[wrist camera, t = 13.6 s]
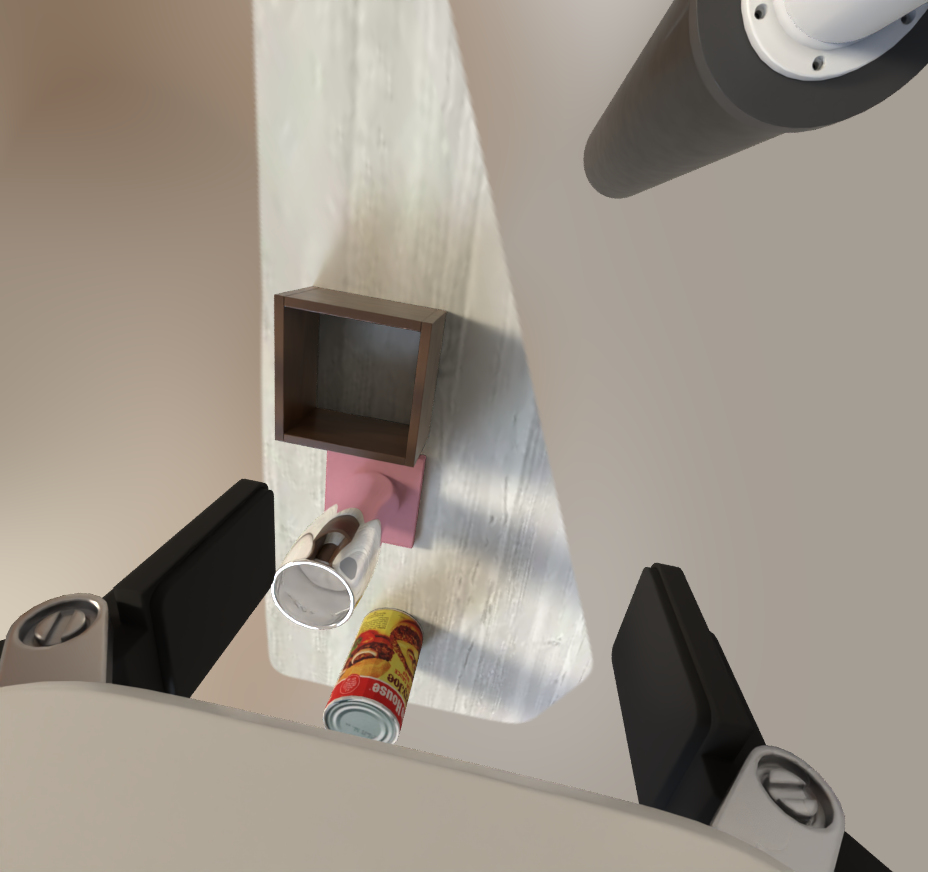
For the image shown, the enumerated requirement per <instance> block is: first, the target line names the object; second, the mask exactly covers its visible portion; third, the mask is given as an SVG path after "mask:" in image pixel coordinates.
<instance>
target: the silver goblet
mask: <svg viewBox="0 0 928 872" xmlns="http://www.w3.org/2000/svg"><path fill="white" fill-rule="evenodd" d="M399 505H400V495H399V492H398V489H397V487H396V486H395V484H394V483H393V482H392V481H391V480H390V479H389V478H388V477H386V476H384V475H383V474H380V473H378V472H373V471H362V472H358V473H356V474H354V475H353V476H351V477H350V478H349V479H348V480H347V481H346V483H345V485H344V487H343V490H342V493H341V496H340V498H339V499H338V501H337V502H336V503H335V504H333V505H332V506H331V507H330V508H329V509H327V510H326V511H325V512H324V513H322V514H321V515H320V516H319V517H317V518H316V519H315V520H314V521H313V522H312V523H311V524H310V525H309V526H308V527H307V528H306V529H305V530H304V531H303V533H302V534H301V535H300V536H299V538H298V539H297V540H296V542H295V543H294V545H293V546H292V547H291V549H290V550H289V552H288V554H287V555H286V557H285V559H284V560H283V562H282V564H281V565H280V567H279V569H278V570H277V571H276V573H275V579H274V582H273V584H272V586H271V592H272V596H273V599H274V601H275V603H276V605H277V606H278V608H279V609H280V610H281V611H282V612H283V613H284V614H285V615H286V616H287V617H288V618H289V619H291V620H292V621H294V622H296V623H298V624H300V625H302V626H305V627H308V628H312V629H320V630H325V629H332V628H336V627H338V626H341V625H342V624H344V623H345V622H346V621H348V619H349V618H350V617H351V616H352V614H353V611H354V609H355V607H356V606H357V604H358V603H359V601H360V599H361V597H362V596H363V594H364V592H365V590H366V589H367V587H368V585H369V583H370V581H371V579H372V576H373V574H374V571H375V569H376V566H377V562H378V559H379V555H380V550H381V545H382V539H383V534H384V529H385V526H386V524H387V523H388V522H389V521H390V520H391V518H392V517H393V516H394V515H395V514H396V512H397V510H398V508H399Z"/></svg>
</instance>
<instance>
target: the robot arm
mask: <svg viewBox="0 0 928 872" xmlns="http://www.w3.org/2000/svg"><path fill="white" fill-rule="evenodd" d="M927 9H928V0H741V11H742V16H743V22H744V27H745V31H746V33H747V36H748V38H749V41H750V43H751V46H752V47H753V48H754V50H755V51H756V53H757V54H758V56H759V57H760V59H761V60H762V61H763V62H765V63H766V64H767V65H768V66H769V67H770V68H771V69H773V70H774V71H776V72H778V73H780V74H782V75H784V76H786V77H789V78H793V79H798V80H802V81H822V80H826V79H831V78H835V77H840V76H842V75H845V74H847V73H849V72H852V71H854V70H857V69H859V68H861V67H862V66H864V65H866V64H868V63H870V62H871V61H873V60H875V59H877V58H878V57H879V56H881V55H882V54H884V53H885V52H886V51H888V50H889V49H891V48H892V47H893V46H894V45H896V44H897V43H898V42H899V41H900V40H901V39H902V38H903V37H904V36H905V35H906V34H907V33H908V32H909V31H910V30H911V29H912V28H913V27H914V25H915V24H916V23H917V22H918V20H919V19H920V18H921V17H922V15H923V14H924V13H925V12H926V10H927ZM754 13H757V14H758V15H759V19H756V17H755V16H754ZM901 19H902V22H901ZM812 63H813V64H815V70H814V69H813V68H812ZM275 573H276V568H275V525H274V494H273V491H272V490H268V486H267V484H266V483H263V482H258V481H253V480H248V479H241V480H239V481H238V482H237V483H236V484H235V485H233V486H232V487H231V488H230V489H229V490H228V491H226V492H225V493H224V494H223V495H222V496H220V497H219V498H218V499H217V500H216V501H215V502H213V503H212V504H211V505H210V506H209V507H208V508H206V509H205V510H204V511H203V512H202V513H201V514H199V515H198V516H197V517H196V518H195V519H193V520H192V521H191V522H190V523H189V524H188V525H186V526H185V527H184V528H183V529H182V530H181V531H179V532H178V533H177V534H176V535H175V536H173V537H172V538H171V539H170V540H169V541H168V542H166V543H165V544H164V545H163V546H162V547H160V548H159V549H158V550H157V551H156V552H155V553H154V554H152V555H151V556H150V557H149V558H148V559H146V560H145V561H144V562H143V563H142V564H140V565H139V566H138V567H137V568H136V569H135V570H133V571H132V572H131V573H130V574H129V575H128V576H126V577H125V578H124V579H123V580H122V581H120V582H119V583H118V584H117V585H116V586H115V587H114V588H113V589H112V590H111V591H110V592H109V593H108V594H106V595H105V596H104V597H103V598H101V597H100V596H96V595H93V594H86V593H76V594H69V595H63V596H60V597H57V598H54V599H50V600H47V601H45V602H43V603H41V604H39V605H37V606H35V607H33V608H31V609H30V610H29V611H27V612H26V613H24V614H23V615H21V616H20V617H19V618H18V619H17V620H16V621H15V622H14V623H13V624H12V626H11V627H10V629H9V631H8V633H7V636H6V639H5V640H1V641H0V872H892V871H891V870H890V869H889V868H887V867H886V866H885V865H884V864H883V863H882V862H880V861H879V860H878V859H877V858H876V857H875V856H873V855H872V854H871V853H870V852H869V851H867V850H866V849H865V848H864V847H863V846H862V845H861V844H859V843H858V842H857V841H856V840H855V839H854V838H852V837H851V836H850V835H849V834H848V833H846V832H845V831H844V830H845V815H844V812H843V810H842V807H841V804H840V802H839V800H838V799H837V797H836V795H835V793H834V792H833V790H832V788H831V787H830V786H829V785H828V783H827V782H826V781H825V780H824V779H823V778H822V777H821V775H820V774H819V773H818V772H817V771H815V770H814V769H813V768H812V767H811V766H810V765H809V764H807V763H806V762H805V761H804V760H802V759H800V758H799V757H797V756H795V755H794V754H792V753H791V752H788V751H786V750H784V749H781V748H779V747H774V746H768V745H766V744H765V742H764V739H763V737H762V735H761V733H760V731H759V729H758V727H757V724H756V722H755V720H754V718H753V716H752V713H751V711H750V709H749V707H748V705H747V703H746V700H745V699H744V696H743V694H742V692H741V690H740V687H739V685H738V683H737V681H736V679H735V677H734V675H733V672H732V670H731V668H730V666H729V664H728V661H727V659H726V657H725V655H724V653H723V650H722V648H721V646H720V644H719V642H718V640H717V638H716V637H715V635H714V634H713V633H711V632H710V631H709V629H708V626H707V624H706V622H705V620H704V618H703V616H702V613H701V611H700V609H699V607H698V605H697V602H696V600H695V598H694V595H693V593H692V591H691V589H690V587H689V585H688V582H687V580H686V578H685V575H684V573H683V571H682V570H681V568H679V567H675V566H670V565H665V564H660V563H654V564H653V565H652V566H651V568H649V567H645V568H644V569H643V571H642V574H641V576H640V579H639V581H638V584H637V586H636V589H635V592H634V594H633V597H632V599H631V602H630V604H629V607H628V609H627V612H626V614H625V617H624V619H623V622H622V624H621V627H620V629H619V632H618V634H617V637H616V640H615V642H614V645H613V648H612V664H613V669H614V675H615V680H616V685H617V691H618V696H619V701H620V706H621V711H622V716H623V721H624V727H625V732H626V738H627V743H628V748H629V753H630V758H631V764H632V769H633V774H634V779H635V785H636V790H637V795H638V800H639V804H636V803H633V802H629V801H625V800H621V799H617V798H613V797H610V796H606V795H602V794H598V793H594V792H590V791H586V790H583V789H578V788H574V787H570V786H566V785H562V784H558V783H554V782H549V781H545V780H541V779H537V778H532V777H529V776H524V775H520V774H516V773H512V772H508V771H504V770H499V769H495V768H491V767H487V766H483V765H479V764H474V763H470V762H465V761H462V760H458V759H453V758H449V757H445V756H441V755H436V754H432V753H427V752H423V751H419V750H415V749H410V748H406V747H402V746H398V745H394V744H389V743H385V742H381V741H376V740H372V739H368V738H364V737H359V736H355V735H351V734H346V733H342V732H338V731H333V730H329V729H325V728H320V727H316V726H312V725H307V724H303V723H298V722H294V721H290V720H285V719H281V718H276V717H272V716H268V715H263V714H259V713H254V712H250V711H245V710H241V709H237V708H232V707H228V706H224V705H219V704H215V703H210V702H205V701H200V700H196V699H191V698H190V697H191V695H192V694H193V693H194V691H195V690H196V689H197V687H198V686H199V685H200V683H201V682H202V680H203V679H204V678H205V676H206V675H207V674H208V672H209V671H210V670H211V668H212V667H213V665H214V664H215V663H216V661H217V660H218V659H219V657H220V656H221V655H222V653H223V652H224V650H225V649H226V648H227V646H228V645H229V644H230V642H231V641H232V640H233V638H234V637H235V635H236V634H237V633H238V631H239V630H240V629H241V627H242V626H243V625H244V623H245V622H246V620H247V619H248V617H249V616H250V615H251V614H252V612H253V611H254V610H255V608H256V607H257V605H258V604H259V602H260V601H261V600H262V599H263V597H264V596H265V595H266V593H267V592H268V590H269V589H270V588H271V586H272V584H273V582H274V579H275Z"/></svg>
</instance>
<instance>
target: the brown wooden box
mask: <svg viewBox="0 0 928 872" xmlns="http://www.w3.org/2000/svg"><path fill="white" fill-rule="evenodd" d="M320 313H322V314H327V315H332V316H338V317H343V318H348V319H354V320H359V321H365V322H370V323H375V324H381V325H386V326H392V327H397V328H402V329H408V330H413V331H418V332H421V336H420V344H419V353H418V361H417V369H416V377H415V386H414V394H413V402H412V410H411V418H410V425H405V424H400V423H394V422H389V421H384V420H379V419H374V418H369V417H364V416H359V415H353V414H348V413H343V412H338V411H333V410H328V409H323V408H318V407H317V408H316V405H317V375H318V345H319V314H320ZM445 318H446V311H445V310H439V309H438V310H437V309H434V308H428V307H423V306H417V305H412V304H406V303H401V302H395V301H390V300H384V299H379V298H373V297H368V296H363V295H357V294H352V293H346V292H341V291H335V290H330V289H324V288H319V287H314V286H312V287H307V288H302V289H298V290H293V291H288V292H284V293H279V294H275V295H274V336H275V440H278V441H283V442H287V443H292V444H297V445H302V446H307V447H312V448H318V449H323V450H328V451H333V452H338V453H343V454H348V455H353V456H358V457H363V458H368V459H373V460H378V461H383V462H388V463H393V464H398V465H403V466H408V467H413V468H414V466H415V464H416V462H417V460H418V458H419V456H420V453H421V451H422V449H423V447H424V445H425V443H426V441H427V439H428V437H429V432H430V425H431V418H432V411H433V403H434V396H435V389H436V382H437V375H438V368H439V361H440V354H441V347H442V340H443V333H444V326H445Z"/></svg>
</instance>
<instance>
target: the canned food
mask: <svg viewBox="0 0 928 872" xmlns="http://www.w3.org/2000/svg"><path fill="white" fill-rule="evenodd" d="M422 643H423V631H422V629H421V626H420V625H419V623H418V622H417V621H416V620H415V619H414V618H413V617H412V616H410V615H409V614H407V613H405V612H403V611H401V610H397V609H393V608H382V609H377V610H374V611H372V612H370V613H369V614H367V615H366V616H365V618H364V619H363V621H362V623H361V625H360V628H359V630H358V632H357V635H356V637H355V639H354V642H353V644H352V646H351V649H350V651H349V653H348V656H347V658H346V661H345V663H344V665H343V668H342V670H341V672H340V675H339V677H338V679H337V682H336V684H335V686H334V689H333V691H332V694H331V696H330V698H329V701H328V703H327V705H326V708H325V710H324V714H323V722H324V726H325V728H326V729H329V730H333V731H338V732H342V733H346V734H351V735H355V736H359V737H364V738H368V739H372V740H376V741H381V742H385V743H389V744H395V742H396V741H397V740H398V737H399V734H400V730H401V726H402V722H403V718H404V714H405V710H406V706H407V702H408V698H409V694H410V690H411V686H412V682H413V678H414V674H415V670H416V666H417V662H418V659H419V655H420V651H421V647H422Z"/></svg>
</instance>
